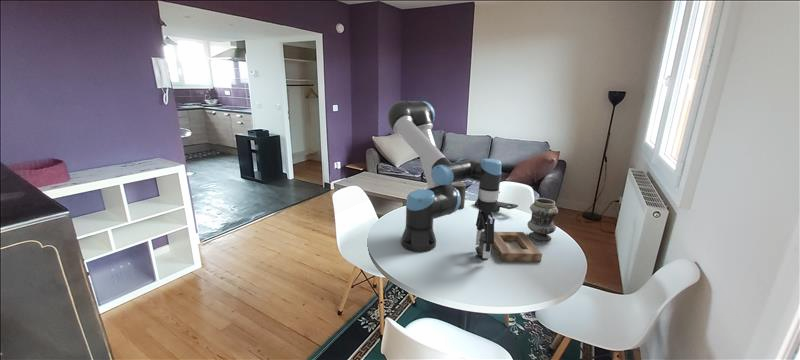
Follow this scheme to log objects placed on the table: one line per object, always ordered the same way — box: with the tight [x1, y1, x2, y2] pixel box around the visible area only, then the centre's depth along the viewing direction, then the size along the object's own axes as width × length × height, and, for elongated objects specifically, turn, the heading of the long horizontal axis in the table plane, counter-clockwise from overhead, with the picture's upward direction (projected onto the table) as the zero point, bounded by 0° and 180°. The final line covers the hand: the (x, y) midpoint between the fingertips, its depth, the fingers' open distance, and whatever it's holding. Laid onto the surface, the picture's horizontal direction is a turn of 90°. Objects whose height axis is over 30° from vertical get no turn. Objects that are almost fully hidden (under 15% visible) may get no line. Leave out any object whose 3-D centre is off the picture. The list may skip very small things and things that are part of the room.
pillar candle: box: [451, 181, 467, 211], centre depth 188 cm, size 10×10×15 cm
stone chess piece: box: [474, 231, 490, 262], centre depth 132 cm, size 6×6×12 cm
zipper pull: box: [474, 197, 519, 213], centre depth 184 cm, size 9×7×25 cm
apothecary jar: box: [526, 197, 559, 243], centre depth 151 cm, size 12×12×18 cm
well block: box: [491, 231, 543, 263], centre depth 141 cm, size 16×20×4 cm
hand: (482, 251), depth 133 cm, fingers open, 10 cm apart
